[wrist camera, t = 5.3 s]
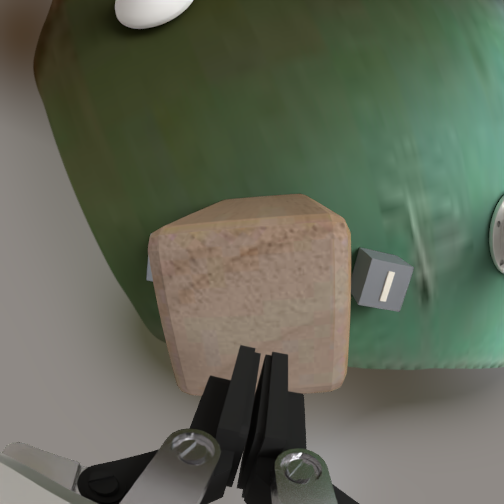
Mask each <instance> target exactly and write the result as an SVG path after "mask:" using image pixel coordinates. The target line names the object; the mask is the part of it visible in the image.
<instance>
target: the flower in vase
mask: <svg viewBox="0 0 504 504" xmlns="http://www.w3.org/2000/svg"><path fill="white" fill-rule="evenodd" d="M192 2H193V0H116V1H115V12H116V16H117V18H118V20H119V21H120V22H121V23H122V24H123V25H125V26H127V27H129V28H134V29H145V28H151V27H155V26H159V25H162V24H164V23H166V22H169V21H170V20H172V19H174V18H176V17H177V16H179V15H180V14H181V13H182V12H184V11H185V10H186V9H187V8H188V7H189V5H190V4H191V3H192Z"/></svg>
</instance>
